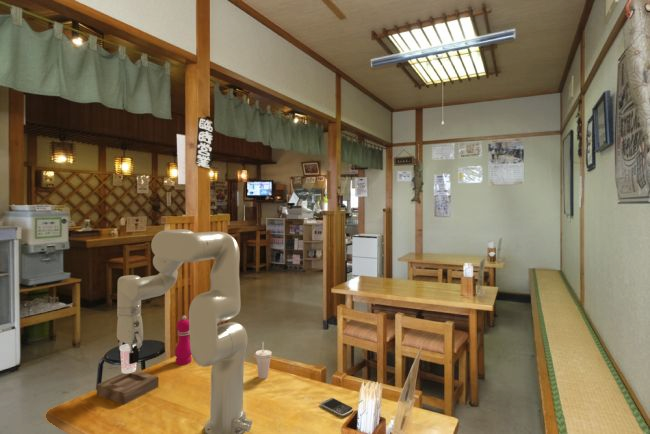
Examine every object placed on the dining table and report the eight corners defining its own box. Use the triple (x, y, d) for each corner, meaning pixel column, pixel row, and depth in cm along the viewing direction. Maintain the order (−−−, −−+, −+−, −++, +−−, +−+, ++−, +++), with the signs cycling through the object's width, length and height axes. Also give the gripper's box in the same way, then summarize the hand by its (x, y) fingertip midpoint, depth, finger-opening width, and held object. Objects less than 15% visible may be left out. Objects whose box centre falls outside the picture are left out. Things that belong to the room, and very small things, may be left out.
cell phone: (342, 420, 122) (342, 415, 122) (318, 407, 129) (318, 402, 129) (355, 412, 126) (355, 408, 126) (330, 400, 134) (330, 396, 134)
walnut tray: (158, 388, 140) (158, 376, 140) (124, 405, 127) (124, 393, 127) (131, 380, 146) (131, 369, 146) (96, 396, 133) (96, 384, 133)
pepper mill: (175, 359, 165) (175, 313, 165) (192, 357, 167) (193, 312, 167) (173, 366, 158) (174, 318, 158) (192, 364, 161) (192, 317, 160)
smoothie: (251, 379, 148) (252, 343, 148) (259, 372, 154) (260, 338, 154) (266, 381, 146) (267, 345, 146) (273, 374, 152) (274, 340, 152)
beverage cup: (142, 368, 139) (142, 330, 138) (129, 375, 133) (130, 335, 132) (128, 366, 140) (128, 328, 140) (115, 373, 134) (115, 333, 134)
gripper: (152, 312, 134) (152, 363, 134) (127, 304, 144) (126, 351, 144) (131, 317, 128) (131, 370, 128) (106, 308, 138) (106, 357, 138)
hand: (128, 359), depth 136 cm, fingers closed on beverage cup, 6 cm apart
